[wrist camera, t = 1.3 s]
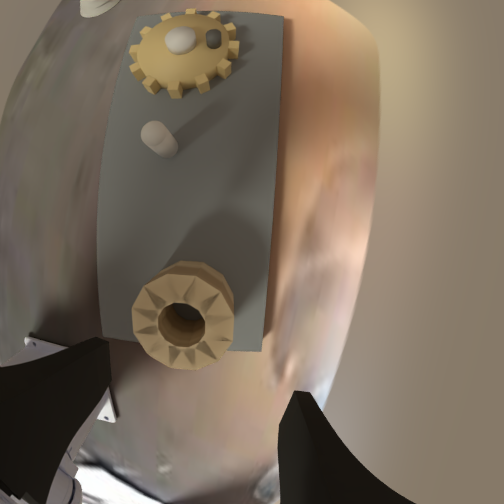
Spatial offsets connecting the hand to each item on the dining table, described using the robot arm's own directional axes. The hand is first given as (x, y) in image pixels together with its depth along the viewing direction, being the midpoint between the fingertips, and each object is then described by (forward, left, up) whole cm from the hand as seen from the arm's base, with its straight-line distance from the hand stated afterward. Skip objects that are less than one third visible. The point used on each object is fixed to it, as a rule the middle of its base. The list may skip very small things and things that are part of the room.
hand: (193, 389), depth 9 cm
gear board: (-2, +10, -11) cm, 15 cm away
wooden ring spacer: (-1, 0, -9) cm, 9 cm away
